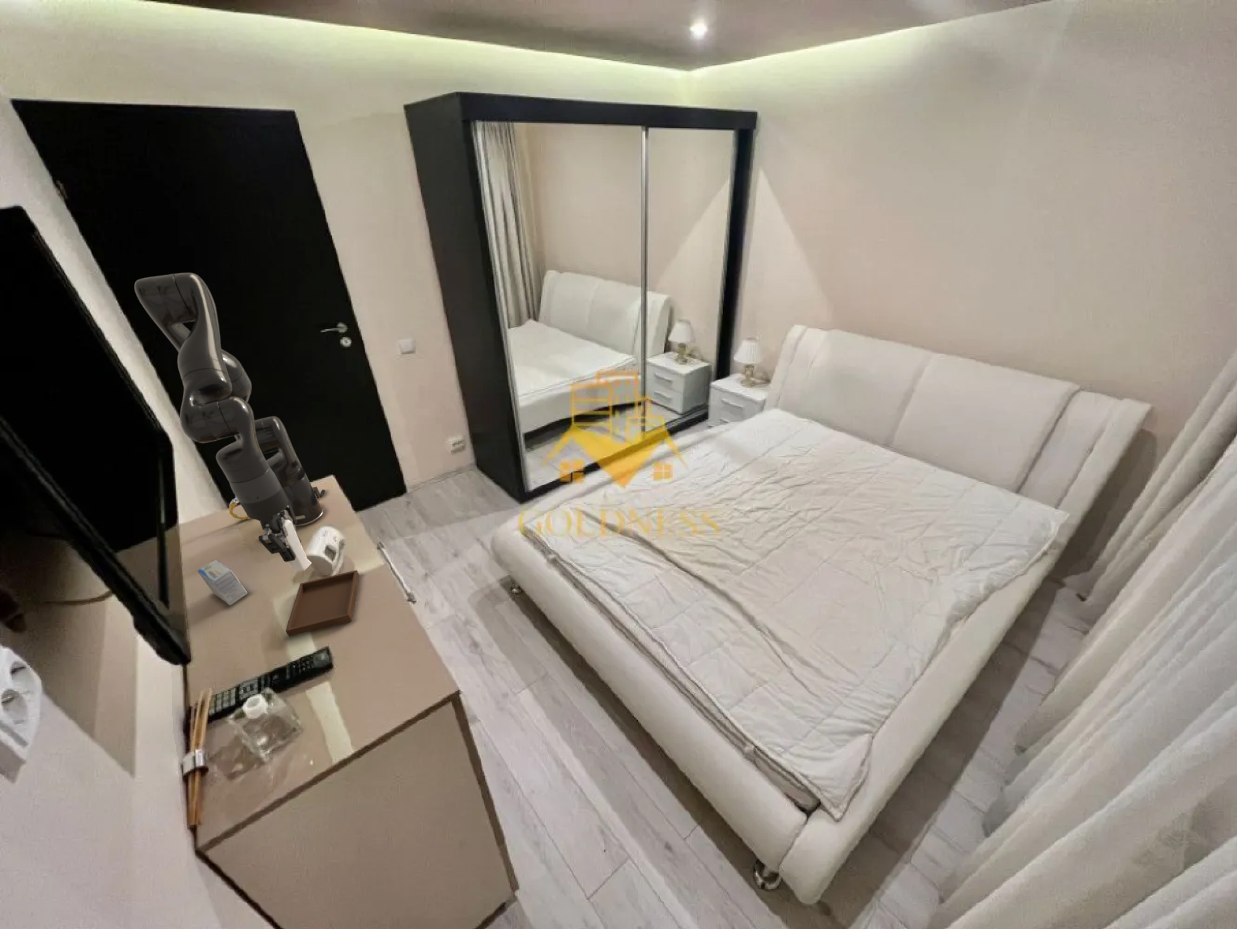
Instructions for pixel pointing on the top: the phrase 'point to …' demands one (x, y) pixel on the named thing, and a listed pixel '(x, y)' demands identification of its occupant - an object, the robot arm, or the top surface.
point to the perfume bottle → (295, 548)
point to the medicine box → (222, 582)
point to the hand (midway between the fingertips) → (293, 552)
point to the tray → (323, 603)
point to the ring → (233, 507)
